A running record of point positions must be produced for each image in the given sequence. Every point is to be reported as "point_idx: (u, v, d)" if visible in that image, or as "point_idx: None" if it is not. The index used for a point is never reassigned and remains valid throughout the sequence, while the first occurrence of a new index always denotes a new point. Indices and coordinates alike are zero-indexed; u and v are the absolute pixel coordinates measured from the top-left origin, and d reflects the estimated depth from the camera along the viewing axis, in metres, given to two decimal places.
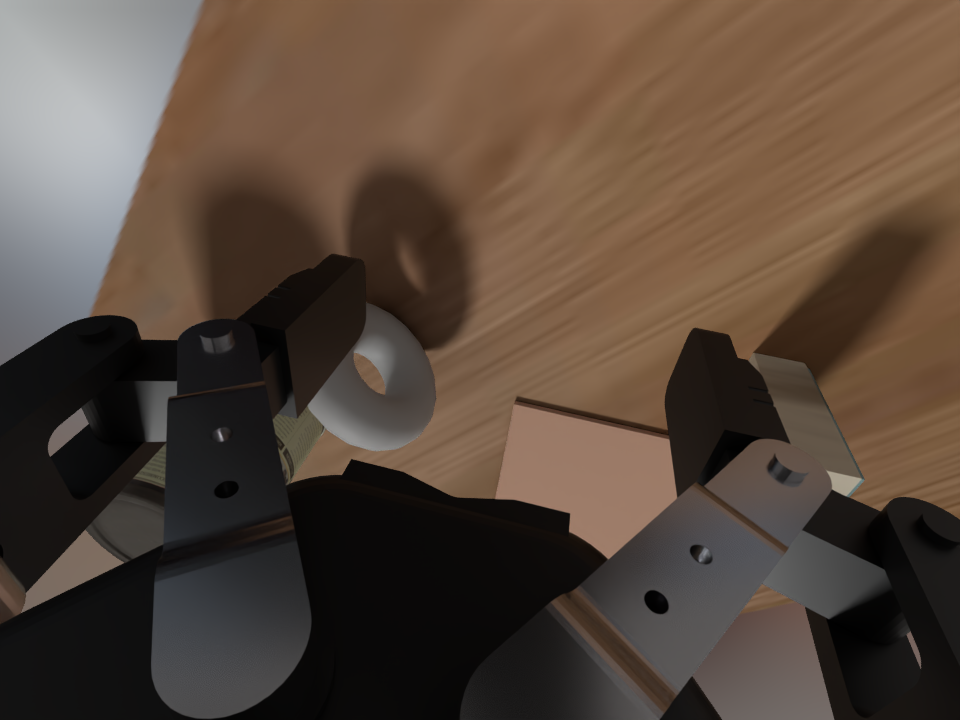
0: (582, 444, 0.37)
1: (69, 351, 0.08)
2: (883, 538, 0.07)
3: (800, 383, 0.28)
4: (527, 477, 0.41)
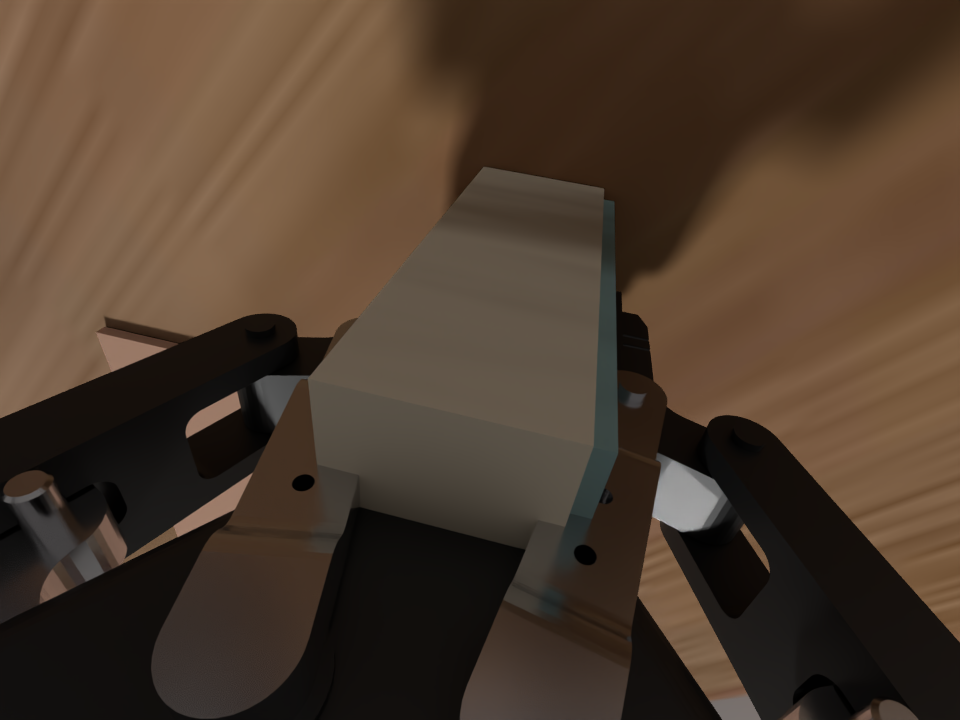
0: None
1: (234, 343, 0.09)
2: (712, 460, 0.08)
3: (560, 211, 0.10)
4: None
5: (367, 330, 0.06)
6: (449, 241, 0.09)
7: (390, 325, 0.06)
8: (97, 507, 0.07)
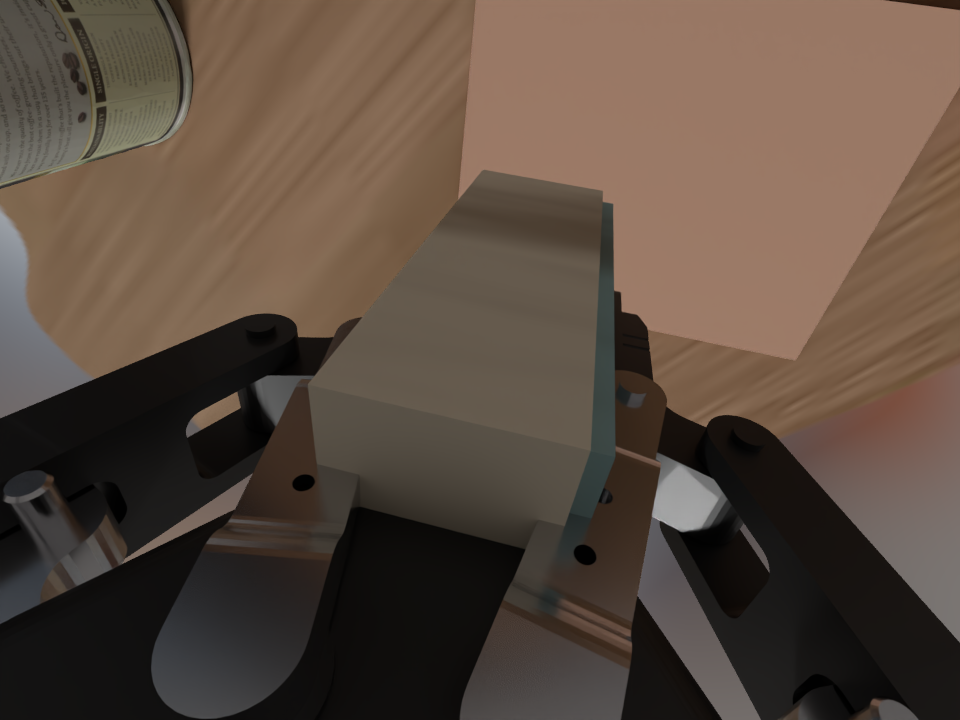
0: (598, 36, 0.22)
1: (234, 343, 0.09)
2: (711, 460, 0.08)
3: (559, 214, 0.10)
4: (505, 144, 0.25)
5: (367, 335, 0.06)
6: (448, 245, 0.09)
7: (389, 330, 0.06)
8: (97, 507, 0.07)
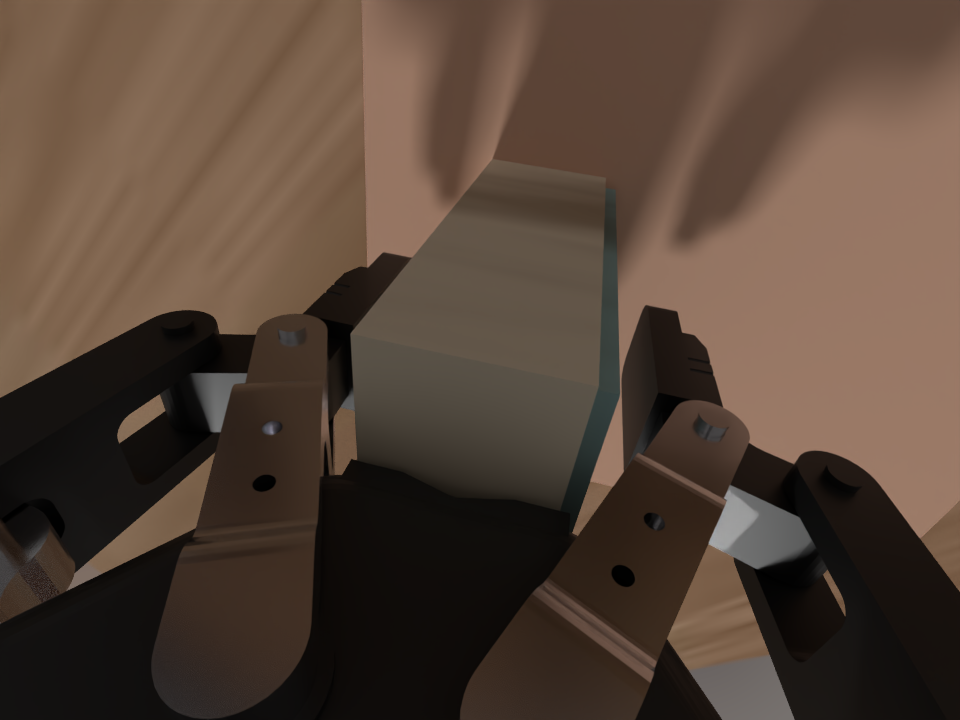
0: (588, 56, 0.12)
1: (153, 342, 0.08)
2: (797, 493, 0.08)
3: (565, 198, 0.11)
4: None
5: (398, 296, 0.07)
6: (464, 224, 0.09)
7: (417, 292, 0.07)
8: (38, 523, 0.06)
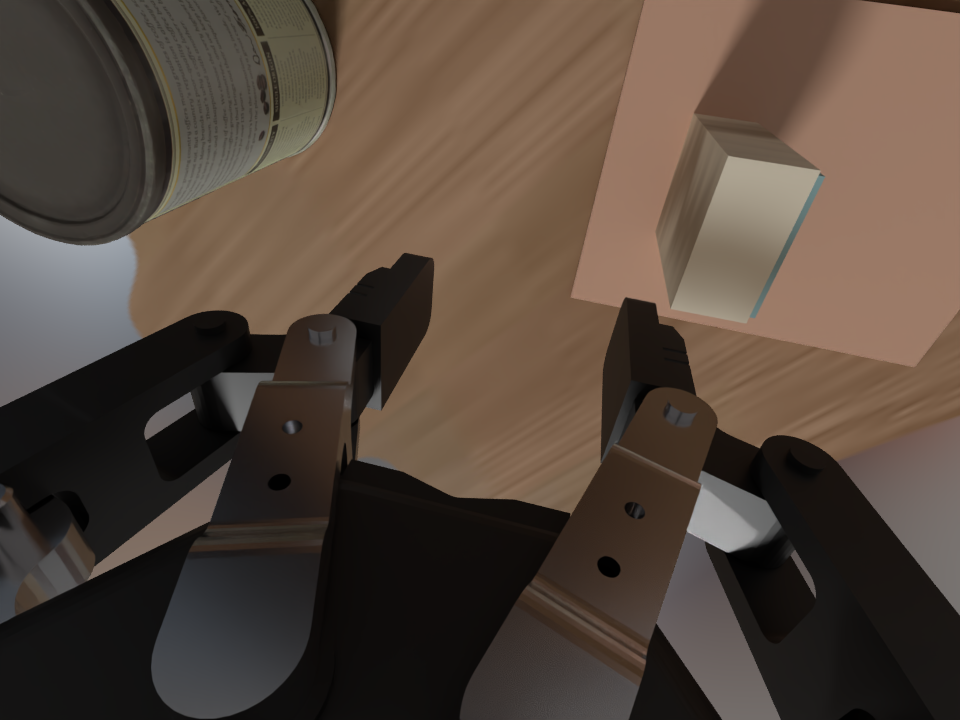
0: (758, 57, 0.23)
1: (185, 341, 0.08)
2: (764, 478, 0.08)
3: (749, 128, 0.22)
4: (648, 159, 0.26)
5: (729, 150, 0.18)
6: (719, 134, 0.20)
7: (733, 149, 0.18)
8: (61, 516, 0.06)
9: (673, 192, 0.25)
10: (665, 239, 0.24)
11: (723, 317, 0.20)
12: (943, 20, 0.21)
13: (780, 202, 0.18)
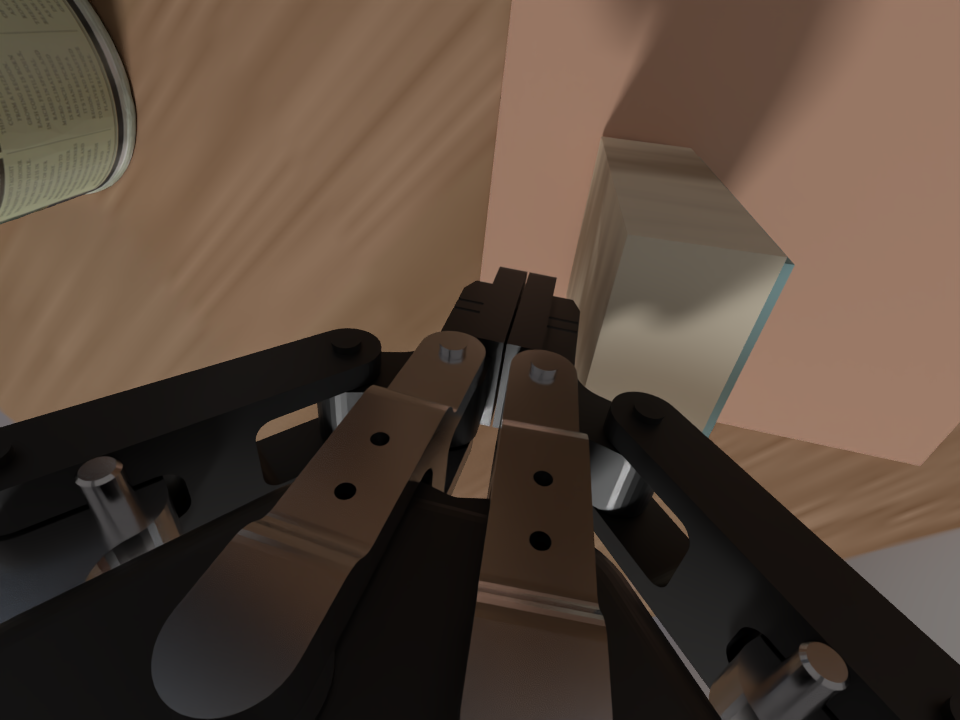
0: (684, 54, 0.15)
1: (318, 355, 0.09)
2: (620, 440, 0.08)
3: (676, 161, 0.15)
4: (547, 197, 0.19)
5: (633, 217, 0.11)
6: (628, 178, 0.13)
7: (642, 215, 0.11)
8: (159, 500, 0.07)
9: (580, 248, 0.18)
10: None
11: None
12: None
13: (722, 306, 0.10)
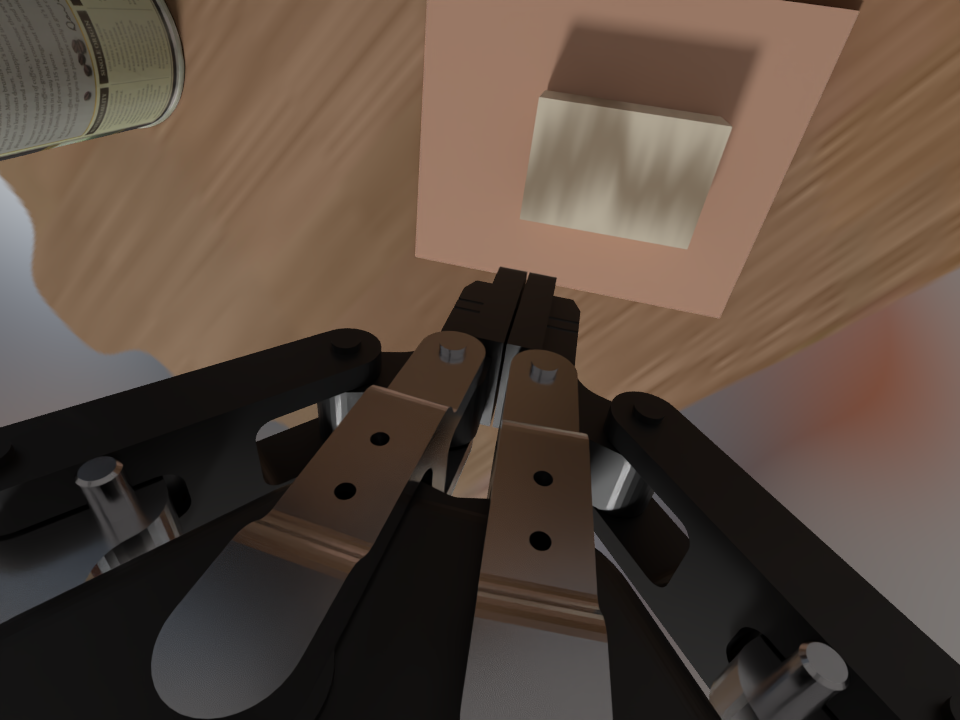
0: (531, 28, 0.25)
1: (318, 356, 0.09)
2: (619, 440, 0.08)
3: (587, 98, 0.26)
4: (458, 124, 0.29)
5: (707, 122, 0.23)
6: (641, 111, 0.24)
7: (702, 120, 0.24)
8: (159, 500, 0.07)
9: (557, 174, 0.26)
10: (586, 214, 0.27)
11: None
12: None
13: None
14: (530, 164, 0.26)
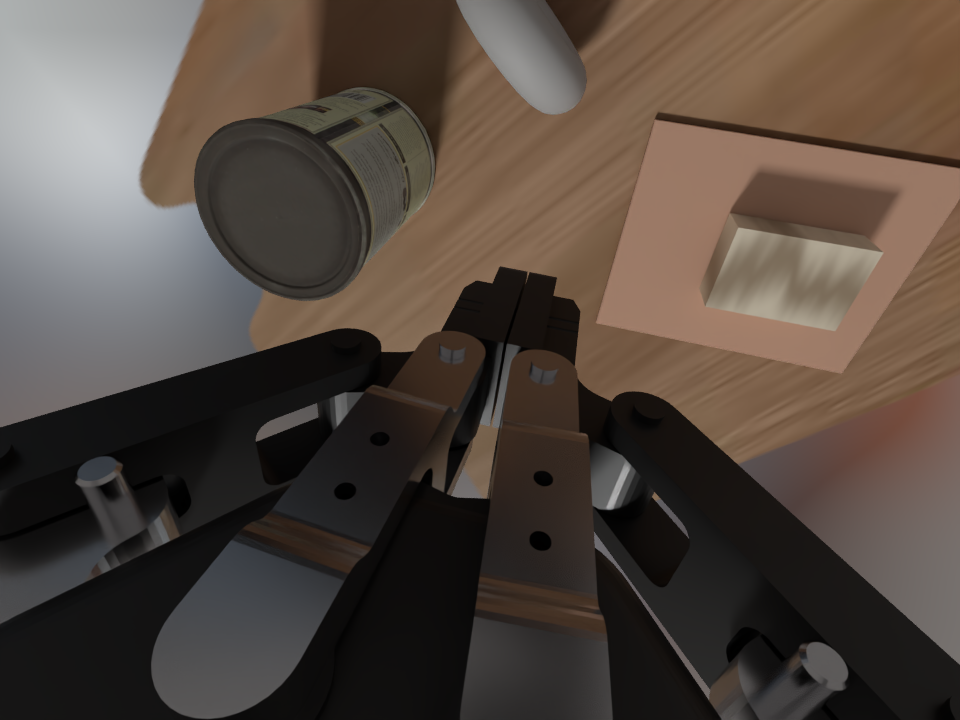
0: (725, 171, 0.34)
1: (318, 356, 0.09)
2: (620, 440, 0.08)
3: (766, 222, 0.35)
4: (653, 231, 0.38)
5: (864, 248, 0.32)
6: (813, 238, 0.33)
7: (859, 246, 0.33)
8: (159, 500, 0.07)
9: (742, 278, 0.35)
10: (759, 305, 0.36)
11: None
12: (841, 154, 0.32)
13: None
14: (722, 270, 0.35)
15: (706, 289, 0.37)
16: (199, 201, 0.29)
